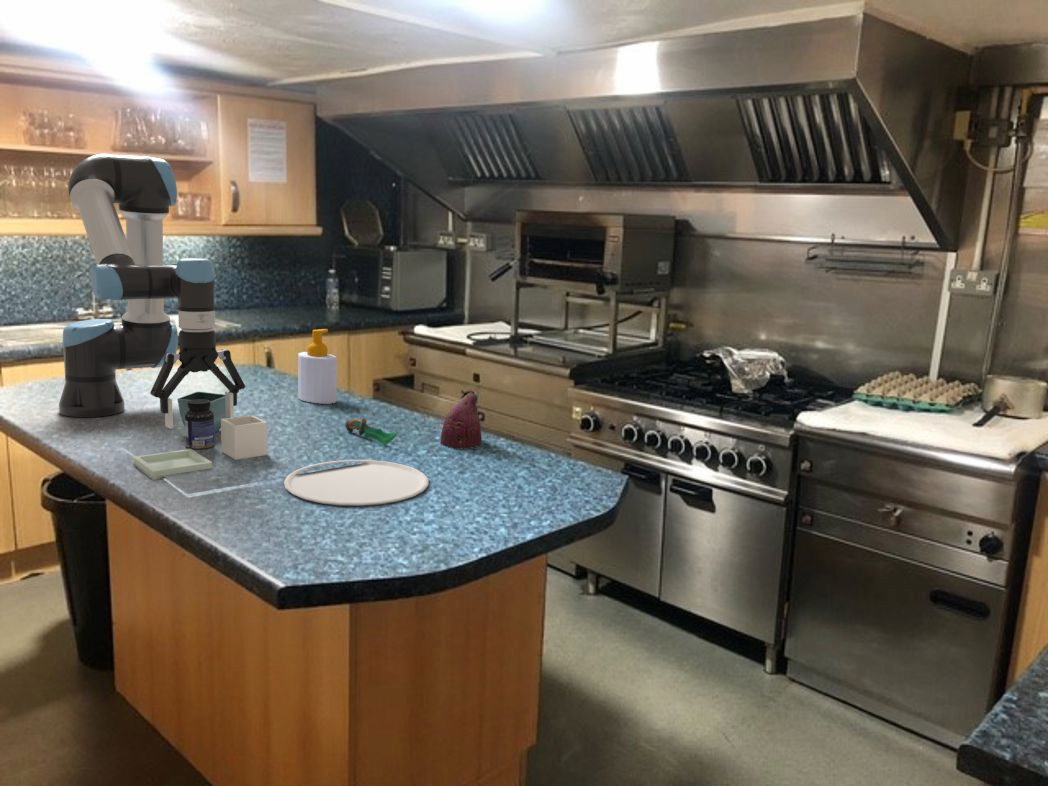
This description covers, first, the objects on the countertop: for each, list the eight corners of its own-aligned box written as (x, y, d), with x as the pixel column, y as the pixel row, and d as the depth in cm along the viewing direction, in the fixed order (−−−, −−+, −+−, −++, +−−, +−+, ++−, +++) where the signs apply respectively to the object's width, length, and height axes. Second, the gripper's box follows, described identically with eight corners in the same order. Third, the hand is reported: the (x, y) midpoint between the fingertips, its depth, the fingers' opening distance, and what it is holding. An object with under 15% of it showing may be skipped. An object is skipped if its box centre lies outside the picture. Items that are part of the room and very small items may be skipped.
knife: (343, 432, 215) (343, 413, 214) (349, 431, 217) (349, 412, 216) (395, 451, 201) (395, 431, 200) (401, 450, 202) (402, 430, 201)
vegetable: (485, 454, 214) (504, 398, 211) (465, 458, 204) (485, 400, 201) (450, 437, 218) (469, 382, 215) (429, 441, 208) (449, 383, 205)
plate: (361, 520, 157) (361, 514, 157) (252, 487, 172) (252, 481, 171) (457, 483, 181) (457, 477, 181) (354, 456, 196) (354, 451, 196)
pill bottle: (220, 447, 196) (219, 400, 194) (202, 454, 191) (201, 405, 188) (198, 443, 198) (197, 397, 196) (179, 450, 193) (178, 402, 190)
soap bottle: (344, 401, 248) (344, 331, 244) (323, 406, 241) (323, 334, 237) (311, 394, 255) (311, 326, 250) (290, 398, 248) (290, 328, 244)
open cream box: (221, 453, 191) (220, 419, 190) (253, 449, 196) (252, 415, 194) (235, 462, 186) (234, 426, 184) (267, 457, 191) (267, 422, 189)
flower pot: (211, 438, 203) (210, 401, 201) (177, 435, 204) (176, 398, 203) (230, 430, 211) (230, 394, 209) (198, 426, 213) (197, 391, 211)
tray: (133, 464, 180) (133, 456, 180) (190, 456, 188) (190, 448, 188) (152, 480, 172) (152, 471, 171) (212, 470, 179) (212, 462, 179)
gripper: (143, 334, 178) (148, 434, 182) (258, 328, 194) (260, 420, 198) (132, 330, 183) (136, 427, 188) (244, 325, 200) (246, 414, 204)
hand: (200, 423), depth 193 cm, fingers open, 13 cm apart
